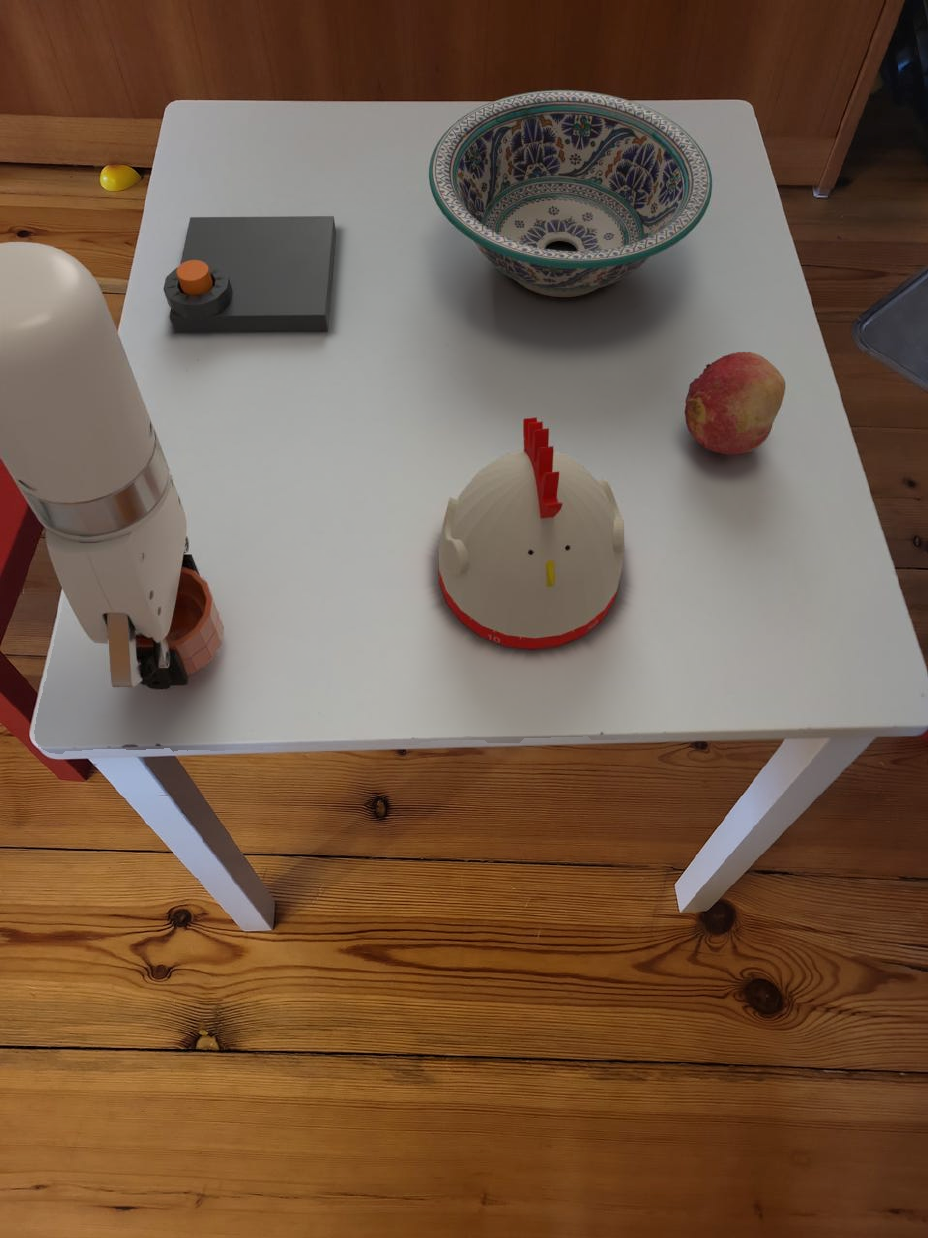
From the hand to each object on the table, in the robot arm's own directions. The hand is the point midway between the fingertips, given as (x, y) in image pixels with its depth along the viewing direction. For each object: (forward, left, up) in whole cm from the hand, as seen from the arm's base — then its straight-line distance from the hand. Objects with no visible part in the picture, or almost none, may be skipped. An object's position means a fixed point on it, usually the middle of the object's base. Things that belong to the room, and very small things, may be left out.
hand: (173, 632), depth 64 cm
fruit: (+43, +20, -3) cm, 47 cm away
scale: (+2, +40, -2) cm, 40 cm away
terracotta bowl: (0, 0, -1) cm, 1 cm away
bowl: (+31, +43, -3) cm, 53 cm away
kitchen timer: (+26, +7, -3) cm, 27 cm away
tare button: (-3, +36, +1) cm, 36 cm away
